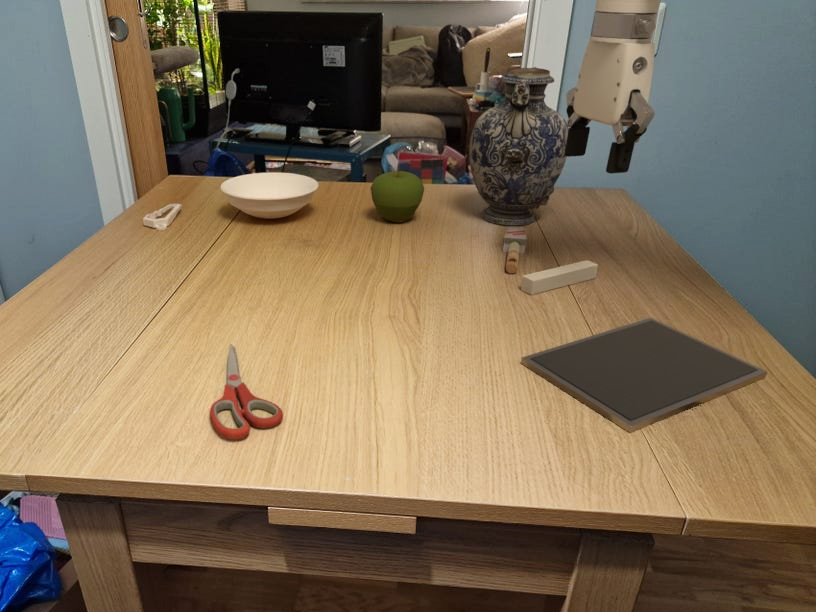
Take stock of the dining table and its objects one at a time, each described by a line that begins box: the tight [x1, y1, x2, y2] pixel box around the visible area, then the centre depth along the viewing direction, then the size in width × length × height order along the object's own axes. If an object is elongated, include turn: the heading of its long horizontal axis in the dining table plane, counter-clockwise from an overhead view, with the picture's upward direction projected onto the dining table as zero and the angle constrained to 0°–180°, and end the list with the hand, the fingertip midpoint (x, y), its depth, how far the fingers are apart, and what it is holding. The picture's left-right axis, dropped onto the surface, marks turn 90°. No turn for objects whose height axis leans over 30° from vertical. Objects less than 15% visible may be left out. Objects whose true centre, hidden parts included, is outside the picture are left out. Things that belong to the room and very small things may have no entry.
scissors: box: [209, 343, 284, 440], centre depth 78 cm, size 8×21×2 cm, turn 24°
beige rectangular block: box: [520, 259, 599, 296], centre depth 105 cm, size 14×2×2 cm, turn 119°
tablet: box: [520, 317, 768, 433], centre depth 82 cm, size 24×17×1 cm
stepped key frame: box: [142, 203, 183, 231], centre depth 134 cm, size 13×5×2 cm, turn 176°
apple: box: [370, 170, 425, 223], centre depth 132 cm, size 11×10×10 cm
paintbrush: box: [502, 226, 528, 274], centre depth 117 cm, size 4×3×20 cm
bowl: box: [219, 171, 319, 220], centre depth 136 cm, size 20×20×6 cm
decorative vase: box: [468, 66, 570, 227], centre depth 129 cm, size 21×19×28 cm
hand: (594, 163), depth 93 cm, fingers open, 9 cm apart
